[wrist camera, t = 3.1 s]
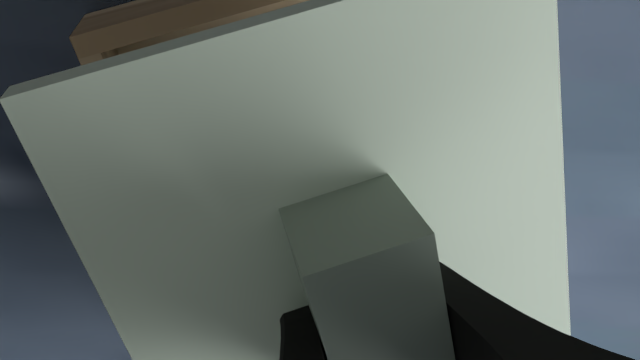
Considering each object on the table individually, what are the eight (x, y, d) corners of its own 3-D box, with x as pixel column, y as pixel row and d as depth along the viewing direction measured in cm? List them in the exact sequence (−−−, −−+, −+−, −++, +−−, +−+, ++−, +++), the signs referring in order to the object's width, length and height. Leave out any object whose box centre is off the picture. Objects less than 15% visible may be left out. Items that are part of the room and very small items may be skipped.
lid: (543, 380, 19) (632, 494, 15) (224, 496, 18) (238, 649, 14) (511, -67, 13) (647, -49, 9) (18, 74, 12) (-46, 156, 8)
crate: (437, 249, 26) (474, 297, 23) (212, 325, 25) (218, 385, 22) (384, -69, 20) (423, -63, 17) (84, 14, 19) (68, 37, 16)
